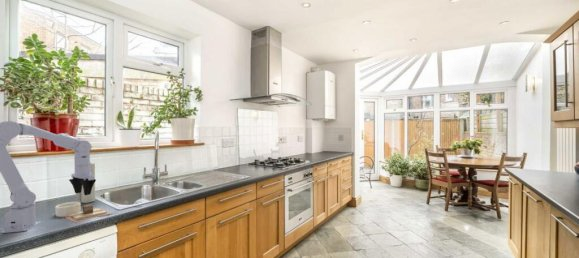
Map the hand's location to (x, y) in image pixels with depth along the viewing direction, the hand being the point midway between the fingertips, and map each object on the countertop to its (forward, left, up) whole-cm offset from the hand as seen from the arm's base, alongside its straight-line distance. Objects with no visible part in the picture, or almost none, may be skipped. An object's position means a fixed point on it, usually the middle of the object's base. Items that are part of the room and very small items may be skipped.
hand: (82, 193), depth 122 cm
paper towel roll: (+23, +8, -10) cm, 26 cm away
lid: (-3, -3, -9) cm, 10 cm away
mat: (-3, -3, -10) cm, 11 cm away
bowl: (+2, +7, -10) cm, 12 cm away
